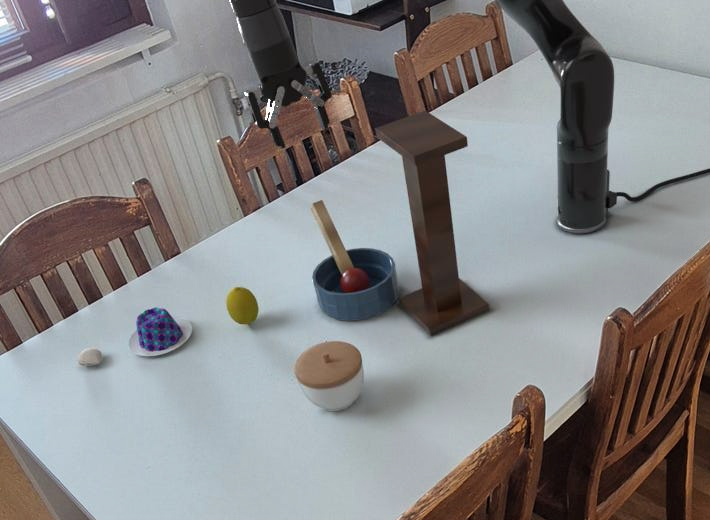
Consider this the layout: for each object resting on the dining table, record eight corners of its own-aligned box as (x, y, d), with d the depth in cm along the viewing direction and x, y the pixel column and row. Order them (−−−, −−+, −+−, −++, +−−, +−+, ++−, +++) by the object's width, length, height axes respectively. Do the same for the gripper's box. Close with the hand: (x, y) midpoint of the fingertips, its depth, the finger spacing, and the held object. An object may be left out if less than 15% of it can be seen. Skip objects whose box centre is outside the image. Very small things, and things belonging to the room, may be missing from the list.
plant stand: (398, 303, 149) (366, 131, 126) (454, 280, 152) (433, 107, 129) (432, 338, 141) (405, 159, 118) (490, 312, 144) (475, 133, 121)
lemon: (257, 333, 148) (245, 296, 142) (229, 333, 149) (216, 296, 144) (267, 315, 152) (255, 278, 146) (240, 315, 153) (227, 278, 147)
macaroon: (96, 352, 150) (90, 342, 148) (112, 361, 148) (106, 350, 146) (77, 365, 148) (71, 354, 146) (92, 374, 146) (86, 363, 144)
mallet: (371, 295, 153) (377, 286, 148) (346, 305, 152) (350, 297, 146) (328, 203, 152) (332, 191, 147) (302, 212, 151) (305, 201, 146)
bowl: (363, 266, 159) (358, 239, 155) (416, 293, 151) (411, 264, 146) (303, 303, 153) (295, 276, 149) (354, 333, 145) (348, 305, 140)
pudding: (206, 333, 150) (196, 309, 146) (153, 367, 145) (141, 344, 141) (169, 312, 157) (160, 289, 153) (117, 344, 151) (105, 321, 147)
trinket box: (305, 383, 136) (291, 338, 130) (368, 373, 136) (358, 327, 129) (305, 426, 129) (290, 380, 122) (371, 415, 129) (360, 369, 122)
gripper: (234, 59, 130) (274, 158, 140) (313, 25, 132) (346, 125, 143) (222, 54, 135) (262, 150, 146) (298, 22, 138) (332, 118, 148)
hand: (304, 137), depth 144 cm, fingers open, 8 cm apart
